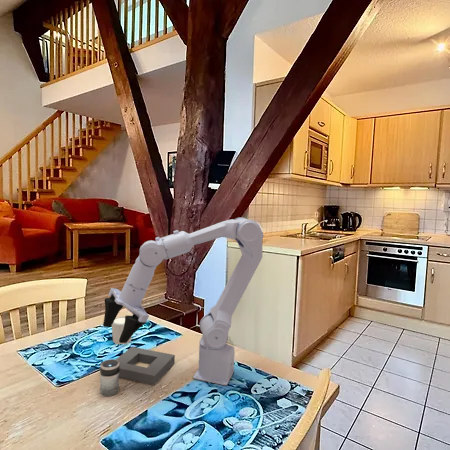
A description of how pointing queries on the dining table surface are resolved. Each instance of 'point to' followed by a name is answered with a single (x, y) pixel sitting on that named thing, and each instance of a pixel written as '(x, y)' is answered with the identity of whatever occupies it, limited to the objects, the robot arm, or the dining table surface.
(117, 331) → the white cylinder
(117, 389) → the lens
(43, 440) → the dining table surface
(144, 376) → the square peg hole
